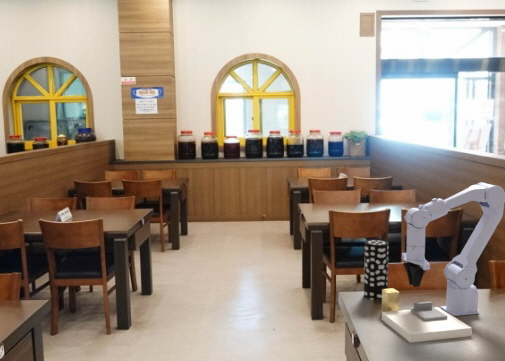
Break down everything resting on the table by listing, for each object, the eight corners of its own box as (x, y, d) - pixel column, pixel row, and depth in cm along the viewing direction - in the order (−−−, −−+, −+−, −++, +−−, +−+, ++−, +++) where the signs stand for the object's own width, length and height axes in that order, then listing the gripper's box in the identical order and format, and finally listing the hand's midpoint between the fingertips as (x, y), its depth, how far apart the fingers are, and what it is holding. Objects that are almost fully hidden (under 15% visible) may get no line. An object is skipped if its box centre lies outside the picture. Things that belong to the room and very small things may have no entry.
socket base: (437, 314, 176) (437, 307, 176) (471, 335, 159) (471, 327, 158) (381, 319, 172) (381, 312, 171) (410, 342, 154) (410, 334, 154)
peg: (392, 311, 179) (393, 288, 178) (398, 315, 175) (399, 292, 174) (381, 312, 178) (382, 289, 177) (387, 316, 174) (387, 293, 173)
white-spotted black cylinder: (383, 302, 188) (384, 246, 186) (360, 297, 192) (361, 243, 190) (390, 295, 195) (391, 241, 193) (368, 291, 199) (369, 238, 197)
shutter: (433, 309, 173) (433, 301, 173) (447, 318, 165) (447, 309, 165) (410, 311, 171) (410, 303, 171) (423, 320, 164) (424, 312, 163)
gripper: (393, 240, 181) (392, 279, 182) (416, 251, 167) (414, 293, 168) (412, 239, 182) (411, 278, 184) (436, 249, 168) (435, 291, 170)
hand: (414, 285), depth 176 cm, fingers closed
